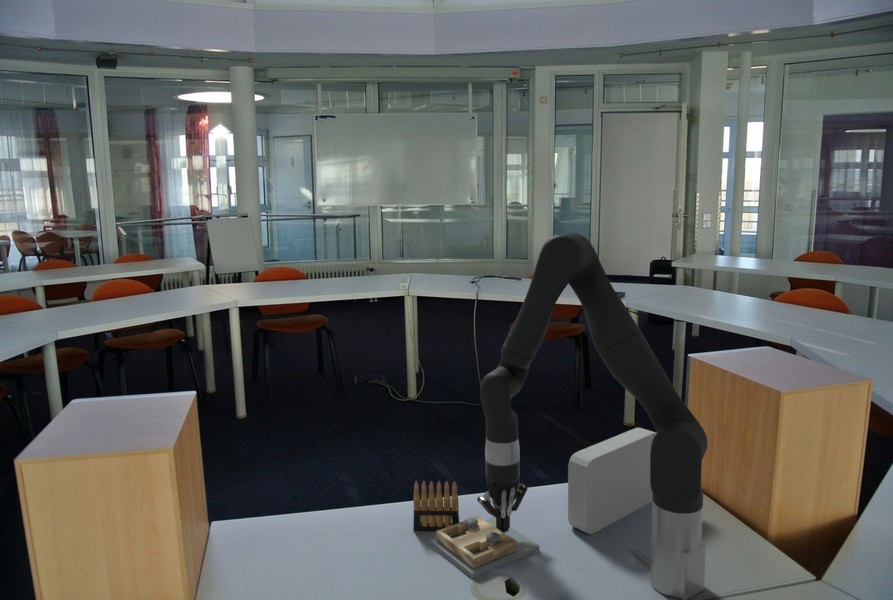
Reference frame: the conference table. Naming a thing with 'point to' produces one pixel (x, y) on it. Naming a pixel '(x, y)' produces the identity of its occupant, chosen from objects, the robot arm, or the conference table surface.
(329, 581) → the conference table surface
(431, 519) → the ammunition clip
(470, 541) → the beech panel
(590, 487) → the rounded white slab
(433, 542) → the board
